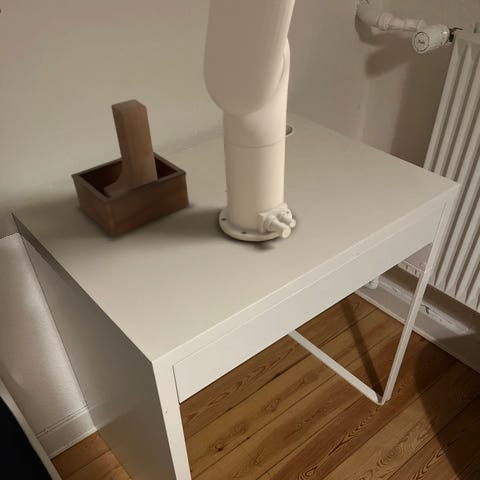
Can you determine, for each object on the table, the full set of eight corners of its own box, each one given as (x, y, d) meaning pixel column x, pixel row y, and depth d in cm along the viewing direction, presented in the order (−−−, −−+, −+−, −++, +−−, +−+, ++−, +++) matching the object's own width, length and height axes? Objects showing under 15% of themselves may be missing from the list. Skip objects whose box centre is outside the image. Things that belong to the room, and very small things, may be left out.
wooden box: (189, 206, 93) (186, 171, 88) (113, 238, 86) (104, 202, 81) (153, 181, 100) (148, 148, 96) (80, 208, 93) (70, 174, 89)
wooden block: (117, 220, 90) (94, 119, 78) (107, 209, 93) (83, 110, 80) (162, 204, 93) (147, 105, 81) (151, 195, 96) (135, 97, 84)
